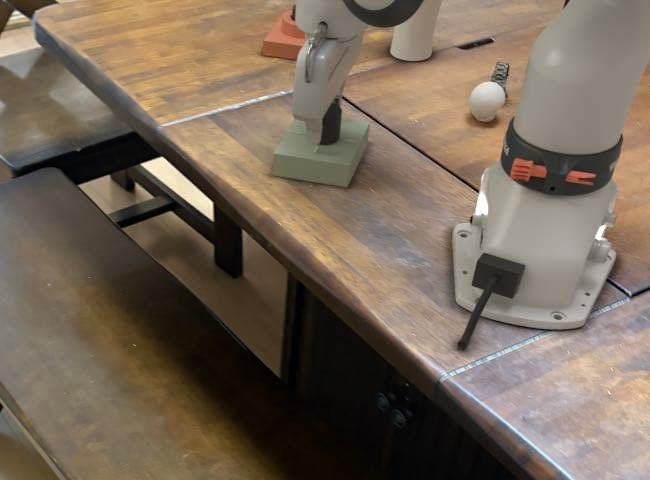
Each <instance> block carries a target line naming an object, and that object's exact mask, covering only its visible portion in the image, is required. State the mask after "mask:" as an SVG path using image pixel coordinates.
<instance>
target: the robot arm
mask: <svg viewBox="0 0 650 480" xmlns="http://www.w3.org/2000/svg"><path fill="white" fill-rule="evenodd" d="M423 1H424V0H295V5H296V13H295V23H296V25H297V27H298V28H299V29H300V30H302V31H303V32H305V40H306V42H305V44H304V45H303V47H302V48H301V50H300V52H299V54H298V58H297V60H296V64H295V70H294V79H293V88H292V89H293V91H292V103H291V114H292V117H293V120H294V119H296V120H300V121H305V125H306V129H307V137H306V140H307V142H308V143H309V144H315V145H318V144H319V143H320V141H321V140H322V138H323V128H324V126H322V119H323V117H324V115H325V113H326V112H327V110H328V108H329V107H330V105H331V103H333V104H336V105H338V106H339V107H340V108H341V106H342V102H343V93H344V90H345V86H346V82H347V77H348V76H349V74H350V73H351V71H352V69H353V67H354V66H355V64H356V62H357V61H358V59H359V56H360V53H361V50H362V46H363V41H364V36H365V31H366V30H367V29H368V28H369V26H371V27H375V28H381V29H386V28H387V29H388V28H389V29H390V28H394V26H397V25H400V24H402V23H404V22H405V21H407V20H408V19H410V18H411V17H412V16H413V15H414V14H415V13H416V11H417V10H418V9H419V7H420V6H421V4H422V3H423ZM649 61H650V0H570V1H569V3H568V4H567V5H566V6H565V8H564V9H563V8H562V10H561V11H560V12H559V14H558V15H557V16H556V17H555V18H554V19H553V20H551V21H550V23H548V25H547V26H545V28H543V29H542V31H541V33H539V35H538V36H537V37H536V40H535V41H534V43H533V44H532V47H531V49H530V52H529V56H528V60H527V64H526V67H525V72H524V75H523V79H522V84H521V87H520V88H521V89H520V93H519V98H518V101H517V105H516V110H515V113H514V116H513V117H511V119H510V120H509V122H508V126H507V129H506V131H505V133H504V137H503V142H502V144H503V145H502V148H501V149H502V150H501V153H500V158H499V159H497V160H496V161H495V162H493V163H492V164H490V165H489V166H487V167H486V168H485V169H484V171H483V173H482V178H481V181H480V182H481V183H480V187H479V191H478V195H477V199H476V204H475V207H474V212H473V213H472V214H471V216H470V219H469V221H465V222H461V223H458V224H456V225H455V226H454V227H453V230H452V233H451V245H452V247H451V248H452V263H453V265H452V266H453V279H454V280H453V281H454V296H455V301H456V304H457V305H458V306H460V307H461V308H462V309H463V308H464V309H465V310H467V311H469V312H471V315H470V317H469V320H468V322H467V324H466V327H465V329H464V331H463V334H462V336H461V338H460V339H459V340H458V341H457V346H458V348H461V349H464V348H466V347H467V345H468V344H469V343H470V341H471V338H472V336H473V334H474V331H475V330H476V327H477V325H478V322H479V320H480V317H483V318H486V319H490V320H494V321H496V322H500V323H505V324H511V325H515V326H521V327H527V328H534V329H542V330H570V329H571V330H572V329H577V328H581V327H583V326H584V325H585V324H586V323H587V320H588V318H589V317H590V314H591V312H592V310H593V308H594V306H595V304H596V302H597V300H598V298H599V295H601V292H602V290H603V287H604V286H605V284H606V281H607V279H608V277H609V276H610V273H611V272H612V269H613V266H614V265H615V262H616V258H617V253H616V251H615V250H614V249H613V248H612V245H613V243H612V242H611V241H609V238H606V237H604V236H605V233H606V231H607V228H613V227H614V225H615V222H616V220H617V217H618V214H616V213H614V212H613V210H614V207H615V205H616V202H617V199H618V196H619V193H620V190H621V189H620V188H619V187H618V185H617V184H616V182H615V181H614V179H613V176H614V172H615V169H616V166H617V164H618V162H619V159H620V157H621V153H622V146H623V142H624V134H623V130H624V127H625V125H626V122H627V119H628V116H629V115H630V111H631V108H632V105H633V103H634V99H635V97H636V94H637V91H638V90H639V86H640V85H641V84H640V83H641V80H642V78H643V76H644V73H645V70H646V69H647V66H648V63H649Z"/></svg>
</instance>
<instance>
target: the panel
mask: <svg viewBox="0 0 650 480" xmlns="http://www.w3.org/2000/svg"><path fill="white" fill-rule="evenodd" d="M370 127H371V122H370V121H363V120H358V119H357V120H355V119H350V118H342V117H341V129H340V138H339V140H338V141H337V142H335V143H333V144H329V145H319V144H318V145H315V144H309V143H308V142H307V140H306V125H305V121H300V120H296V119H294V118H293V120H292V121H291V123H290V125H289V126H288V128H287V130H286V131H285V133H284V135H283V136H282V138H281V140H280V141H279V143H278V145H277V146H276V148H275V150H274V152H273V155H272V176H273V177H278V178H279V177H280V178H286V179H292V180H298V181H304V182H312V183H317V184H324V185H328V186H335V187H341V188H348V187H349V185H350V183H351V181H352V178H353V176H354V174H355V172H356V170H357V168H358V165H359V164H360V161H361V160H362V157H363V155H364V153H365V151H366V149H367V147H368V144H369V138H370Z"/></svg>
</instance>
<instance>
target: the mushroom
mask: <svg viewBox="0 0 650 480" xmlns="http://www.w3.org/2000/svg"><path fill="white" fill-rule="evenodd" d="M505 103H506V98H505V93H504V90H503V88H502V87H501V86H500V85H498V84H497V83H495V82H491V81H483V82H482V83H481V82H480V83H479V84H478V85H477V86H475V88H474V89H472V91H471V93H470V95H469V100H468V107H469V111H470V114H472V115H473V116H474V118H475V120H477V121H479V122H481V123H488V122H491V121H493V120H494V119H495V118H496V115H497V113H498V112H499V111H500V110H501V109H502V107H504V105H505Z"/></svg>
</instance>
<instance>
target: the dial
mask: <svg viewBox="0 0 650 480" xmlns="http://www.w3.org/2000/svg"><path fill="white" fill-rule="evenodd" d="M342 115H343V109H342V107H341V106H340V107H339V106H338V105H336V104H333V103H331V105H330V107H329V108H328V110H327V112H326V113H325V115H324V117H323V119H322V126H324V128H323V138H322V140H321V141H320V143H319V145H329V144H333V143H335V142H337V141H338V140H339V138H340V129H341V118H342V117H343V116H342ZM306 137H307V129H306Z"/></svg>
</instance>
